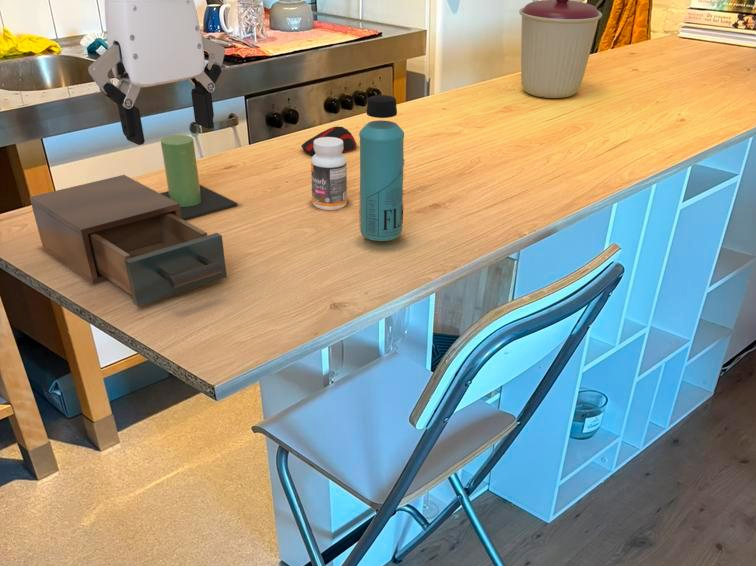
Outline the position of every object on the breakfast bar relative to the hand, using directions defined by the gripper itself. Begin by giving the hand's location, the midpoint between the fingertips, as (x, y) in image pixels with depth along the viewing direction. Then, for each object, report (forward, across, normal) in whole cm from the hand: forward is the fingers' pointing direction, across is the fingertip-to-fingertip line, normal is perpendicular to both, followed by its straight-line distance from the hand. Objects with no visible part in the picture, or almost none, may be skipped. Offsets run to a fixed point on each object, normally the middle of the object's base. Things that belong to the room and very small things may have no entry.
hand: (171, 134), depth 98 cm
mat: (+19, -15, -25) cm, 35 cm away
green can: (+18, -15, -25) cm, 34 cm away
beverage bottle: (+19, -28, +7) cm, 35 cm away
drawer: (+18, +4, -1) cm, 18 cm away
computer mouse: (+19, -51, -31) cm, 63 cm away
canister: (+19, -118, -31) cm, 124 cm away
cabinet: (+19, +3, -15) cm, 25 cm away
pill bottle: (+19, -33, -10) cm, 39 cm away
